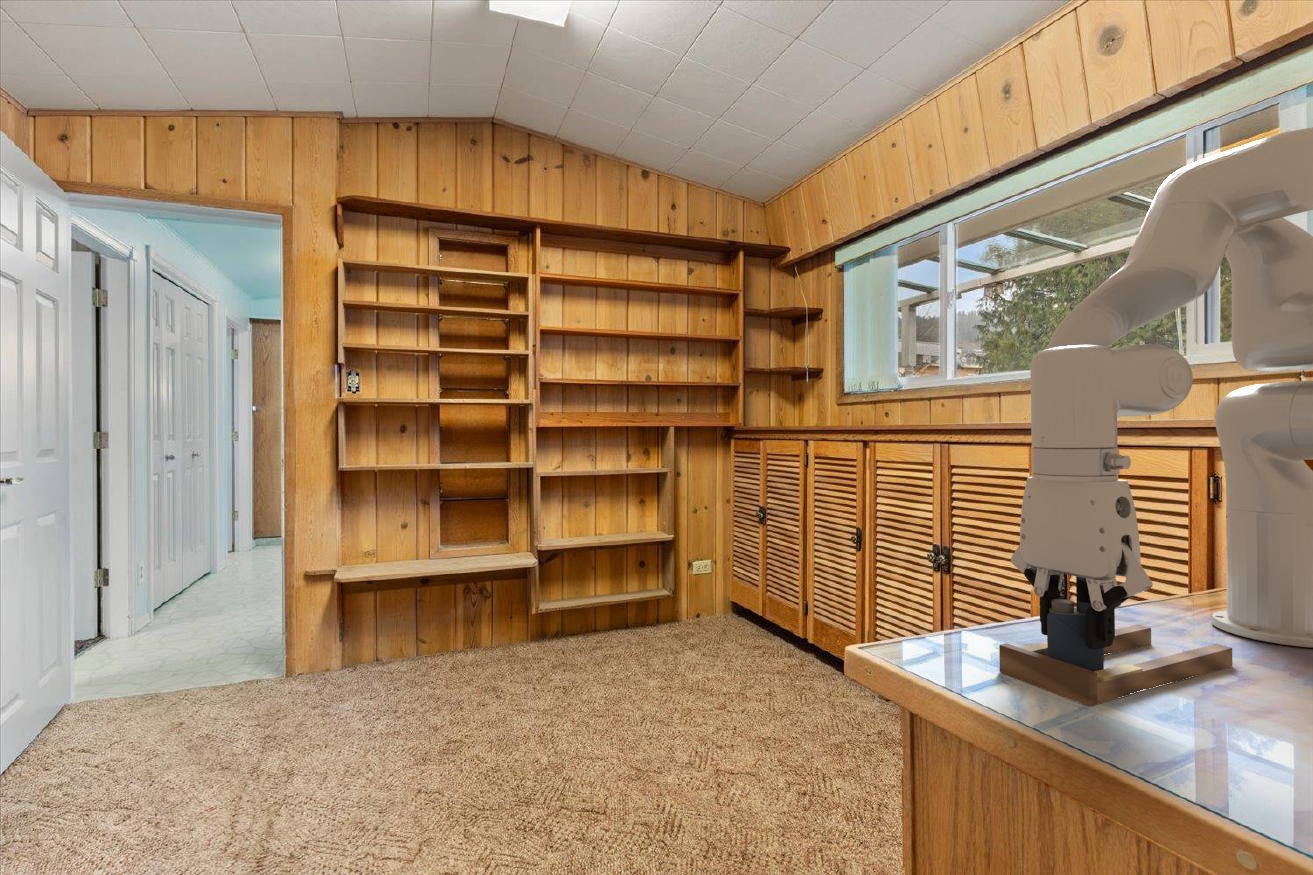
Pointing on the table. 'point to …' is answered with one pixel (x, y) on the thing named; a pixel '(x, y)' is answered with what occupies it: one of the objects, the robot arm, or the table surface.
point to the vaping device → (1072, 631)
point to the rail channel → (1111, 681)
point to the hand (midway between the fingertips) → (1075, 638)
